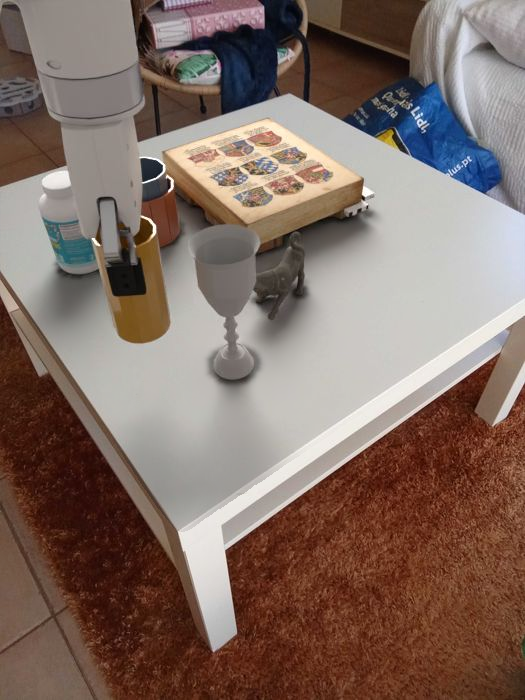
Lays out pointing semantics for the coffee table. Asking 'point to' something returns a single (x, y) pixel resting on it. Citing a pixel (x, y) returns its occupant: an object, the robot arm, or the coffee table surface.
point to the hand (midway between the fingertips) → (131, 270)
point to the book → (264, 181)
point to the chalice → (227, 286)
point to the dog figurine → (282, 276)
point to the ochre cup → (139, 310)
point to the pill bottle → (65, 225)
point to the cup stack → (159, 200)
